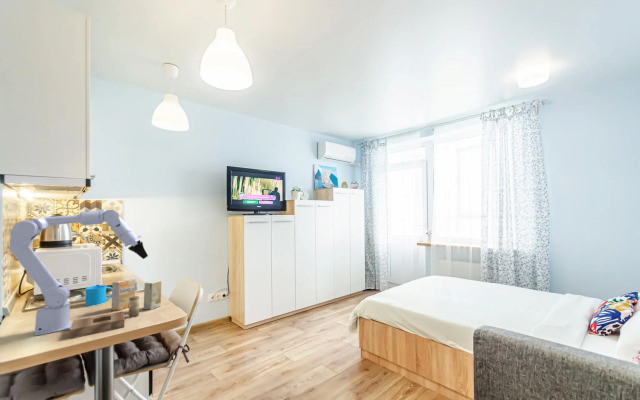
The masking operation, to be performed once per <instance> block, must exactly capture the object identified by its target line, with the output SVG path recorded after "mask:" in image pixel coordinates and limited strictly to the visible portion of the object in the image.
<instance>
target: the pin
mask: <svg viewBox="0 0 640 400" xmlns="http://www.w3.org/2000/svg"><path fill="white" fill-rule="evenodd" d="M139 308H140V296H137V295H135V296H134V297H130V298H129V307H128V318H135V317H136V318H137V317H138V316H139V315H140V309H139Z"/></svg>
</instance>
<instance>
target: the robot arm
mask: <svg viewBox="0 0 640 400" xmlns="http://www.w3.org/2000/svg"><path fill="white" fill-rule="evenodd" d="M76 223H77V224H80V225H82V226H90V225H92V226H93V225H102V224H103V223H105V224H106V223H107V225H108V226H109V227H110V230H112V232H113V233H114V234H115V235H116V237H118V239H119V240H120V242H122V243H123V244H124V246H125V247H128V246H129V247H128V248H127V249H128V250H129V251H131V252H133V253H135V254H136V255H138V256H139V257H140V258H141V259H143V260H144V259H147V257H149V255H148V253H147V251H146V250H145V247H144V243H143V241H141V240H139V239H140V238H141V237H142V235H136V233H135V232H134V231H133V230H132V228H131V227H130V226H129V224H127V223H126V221H125V220H124V219H123V217H120V214H119V212H118V211H116V210H114V209H107V210H105V209H103V208H101V209H100V210H90V209H85V210H84V211H81V212H80V213H79V214H77V215H76V214H73V215H61V216H60V215H59V216H55V215H54V216H44V217H38V218H37V217H36V218H31V219H30V220H29V219H24V220H19V221H18V222H16V223H15V224H14V226H13V227H12V229H11V230H10V232H9V233H10V238H9V239H10V240H9V247H8V248H9V251H10V252H11V254H12V255H13V256H14V257H15V258H16V260H17V261H18V262H19V264H20V265H21V266H22V267H23V268H24V271H26V273H28V275H29V277H31V278H32V280H33V281H34V283H35V284H36V285H37V286H38V287H39V289H40V291H41V294H42V296H43V298H44V304H45V306H44V307H41V308H38V309H37V310H36V315H35V326H34V330H35V332H34V336H39V335H40V336H41V335H46V334H51V333H57V332H60V331H67V330H70V329H71V326H72V321H70V310H71V302H70V301H69V300H68V299H69V297H70V295H71V290H70V289H69V288H68V287H67V286H64V285H63V284H61V282H60V281H59V280H57V279H56V278H55V277H54V276H53V274H52V273H51V272H50V270H49V269H48V268H47V266H45V264H44V263H43V260H41V259H40V258H39V257H38V255H37V254H36V252H35V251H34V250H33V249H32V247H31V246H32V244H33V242H34V240H35V238H36V237H37V236H38V235H40V233H42V231H43V230H46V229H49V228H50V227H52V226H57V225H58V226H59V225H67V224H68V225H69V224H76Z"/></svg>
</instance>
